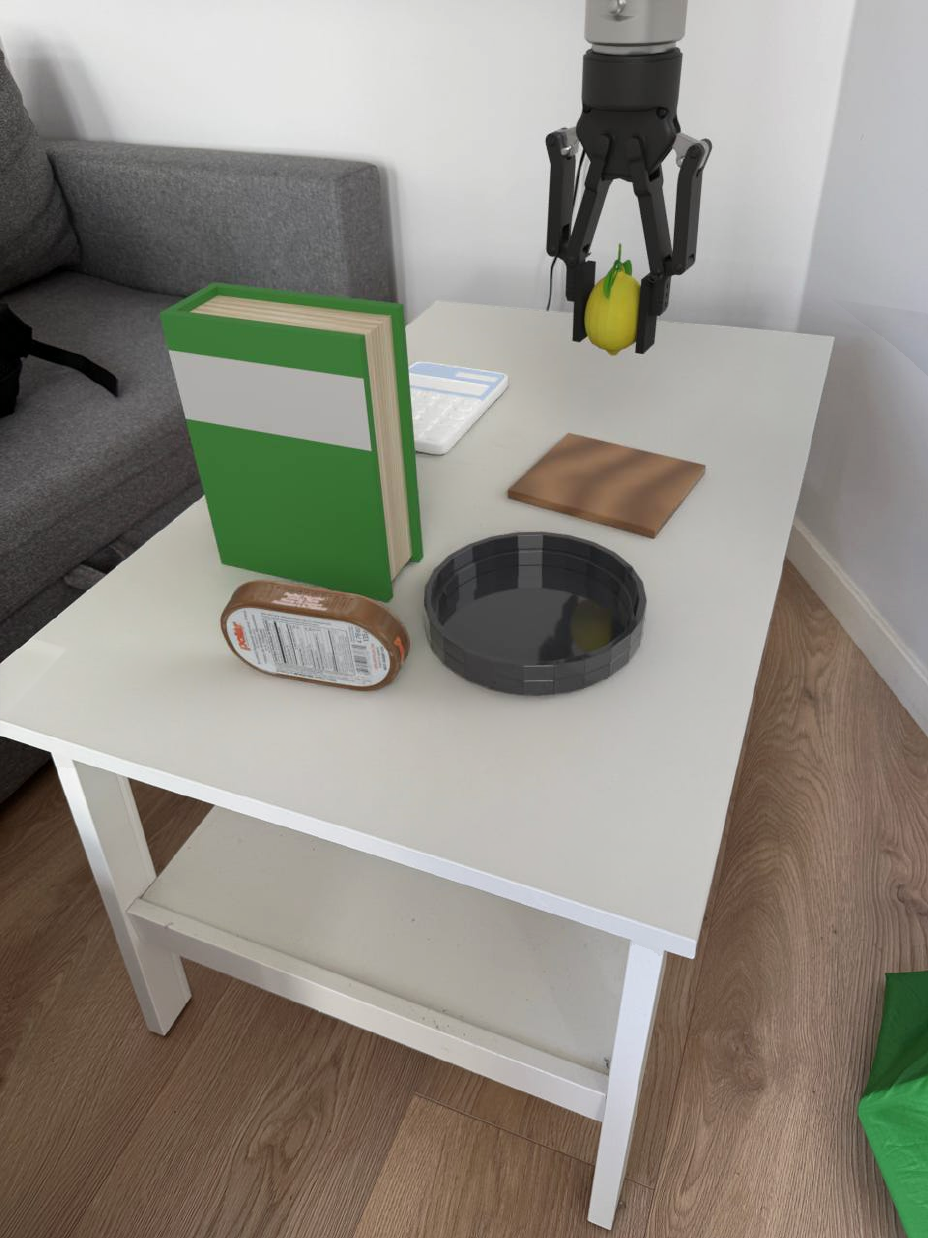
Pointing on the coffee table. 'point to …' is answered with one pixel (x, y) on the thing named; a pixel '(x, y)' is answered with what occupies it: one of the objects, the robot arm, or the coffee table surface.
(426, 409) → the calculator
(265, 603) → the tin
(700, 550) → the coffee table surface
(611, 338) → the lemon
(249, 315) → the hardback book
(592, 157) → the robot arm
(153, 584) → the coffee table surface
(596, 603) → the pan
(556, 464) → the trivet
